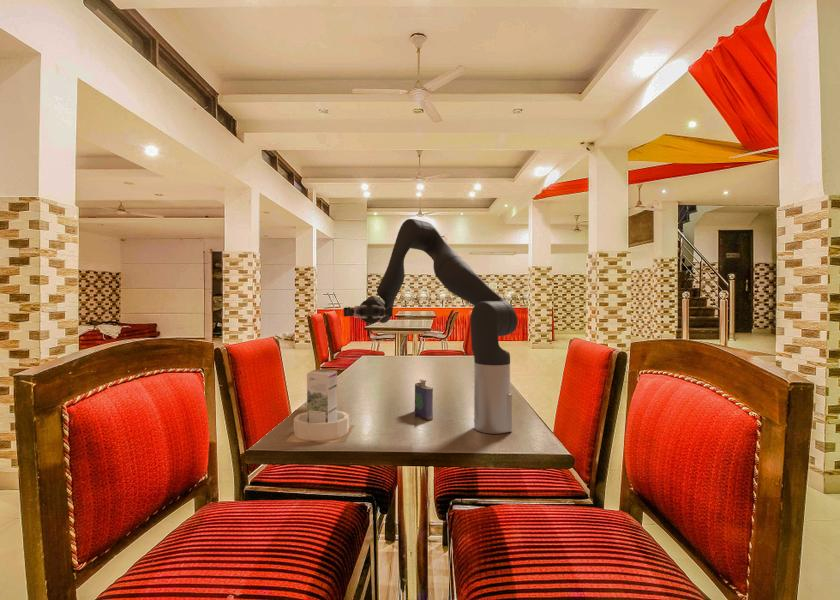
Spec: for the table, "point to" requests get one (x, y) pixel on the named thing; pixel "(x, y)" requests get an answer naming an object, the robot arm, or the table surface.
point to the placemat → (342, 439)
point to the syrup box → (321, 396)
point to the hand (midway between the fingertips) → (365, 312)
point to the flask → (423, 400)
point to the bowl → (321, 428)
